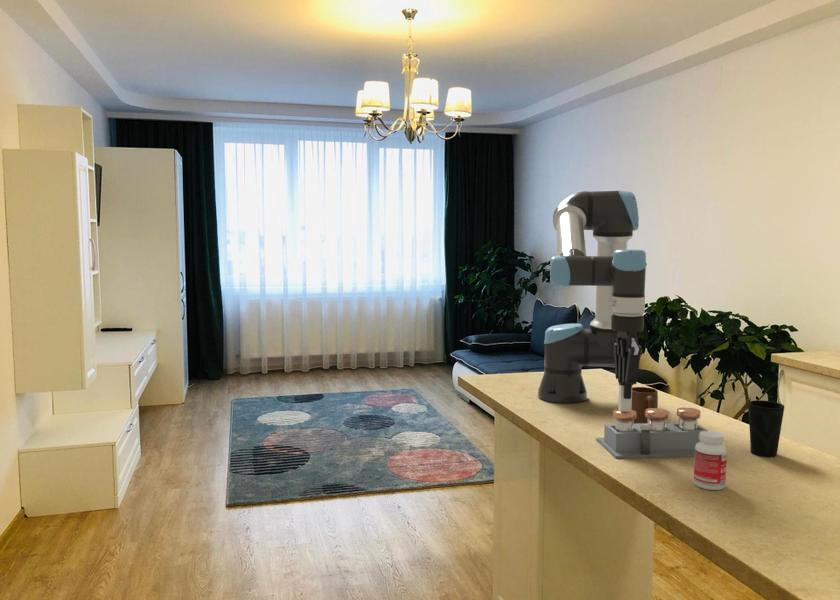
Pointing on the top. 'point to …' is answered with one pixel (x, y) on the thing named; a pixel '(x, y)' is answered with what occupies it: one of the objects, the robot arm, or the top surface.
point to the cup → (765, 427)
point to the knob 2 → (688, 418)
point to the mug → (643, 402)
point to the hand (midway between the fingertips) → (624, 410)
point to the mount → (651, 442)
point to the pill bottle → (710, 461)
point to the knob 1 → (624, 420)
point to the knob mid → (656, 418)
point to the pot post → (645, 438)
